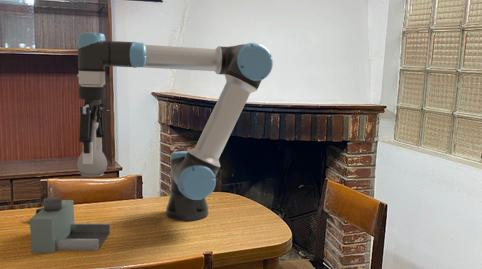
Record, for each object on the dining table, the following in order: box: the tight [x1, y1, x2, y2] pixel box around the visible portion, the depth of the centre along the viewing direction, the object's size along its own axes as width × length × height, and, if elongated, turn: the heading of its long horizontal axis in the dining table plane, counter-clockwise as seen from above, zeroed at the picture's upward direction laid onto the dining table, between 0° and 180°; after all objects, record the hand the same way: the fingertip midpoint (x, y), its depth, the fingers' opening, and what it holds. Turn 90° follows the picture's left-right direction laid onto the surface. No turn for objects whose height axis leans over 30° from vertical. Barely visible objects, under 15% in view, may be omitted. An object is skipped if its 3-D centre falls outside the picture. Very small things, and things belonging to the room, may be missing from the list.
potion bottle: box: [76, 116, 108, 178], centre depth 137 cm, size 9×9×18 cm
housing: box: [29, 196, 75, 254], centre depth 135 cm, size 6×18×13 cm, turn 2°
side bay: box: [55, 222, 111, 251], centre depth 136 cm, size 12×14×3 cm
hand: (92, 160), depth 137 cm, fingers closed on potion bottle, 8 cm apart
